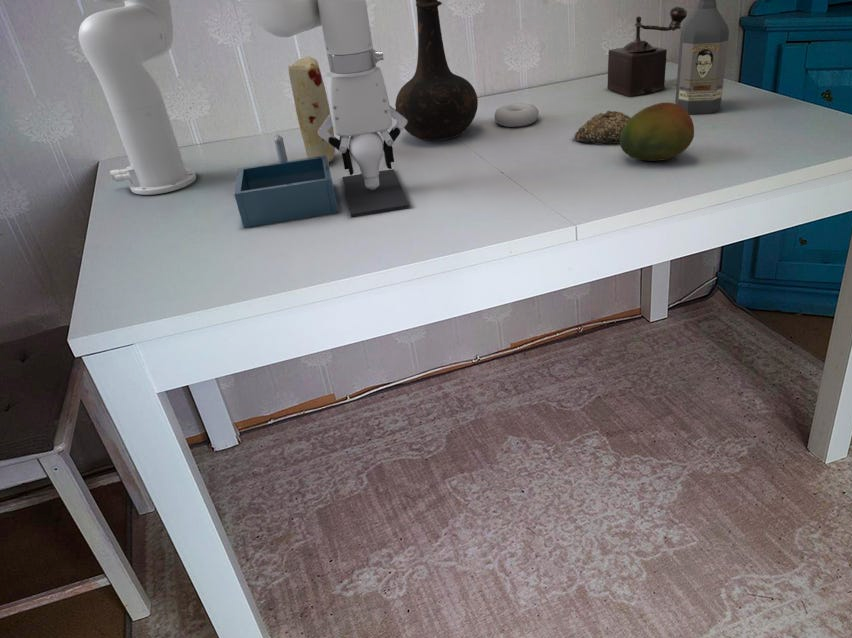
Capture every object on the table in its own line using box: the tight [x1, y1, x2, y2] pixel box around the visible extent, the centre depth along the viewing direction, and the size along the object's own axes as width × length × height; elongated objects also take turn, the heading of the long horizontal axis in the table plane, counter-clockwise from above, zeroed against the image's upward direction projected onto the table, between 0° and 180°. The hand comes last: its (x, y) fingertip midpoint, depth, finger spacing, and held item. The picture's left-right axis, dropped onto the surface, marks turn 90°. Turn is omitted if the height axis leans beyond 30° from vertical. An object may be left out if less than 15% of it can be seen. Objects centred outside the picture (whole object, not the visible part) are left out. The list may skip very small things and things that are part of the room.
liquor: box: [674, 0, 730, 115], centre depth 147 cm, size 9×9×30 cm
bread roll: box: [574, 110, 632, 144], centre depth 143 cm, size 13×12×5 cm
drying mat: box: [341, 168, 410, 218], centre depth 127 cm, size 10×20×1 cm, turn 14°
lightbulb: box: [348, 132, 384, 190], centre depth 124 cm, size 6×6×11 cm
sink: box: [233, 133, 339, 229], centre depth 123 cm, size 16×16×11 cm
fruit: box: [619, 101, 695, 162], centre depth 127 cm, size 12×13×10 cm
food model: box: [288, 55, 336, 163], centre depth 140 cm, size 10×7×20 cm
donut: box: [494, 102, 539, 128], centre depth 157 cm, size 10×4×10 cm
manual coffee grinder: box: [606, 6, 688, 98], centre depth 169 cm, size 16×11×18 cm
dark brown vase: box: [394, 0, 479, 141], centre depth 146 cm, size 18×18×28 cm
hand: (370, 168), depth 125 cm, fingers closed on lightbulb, 6 cm apart
